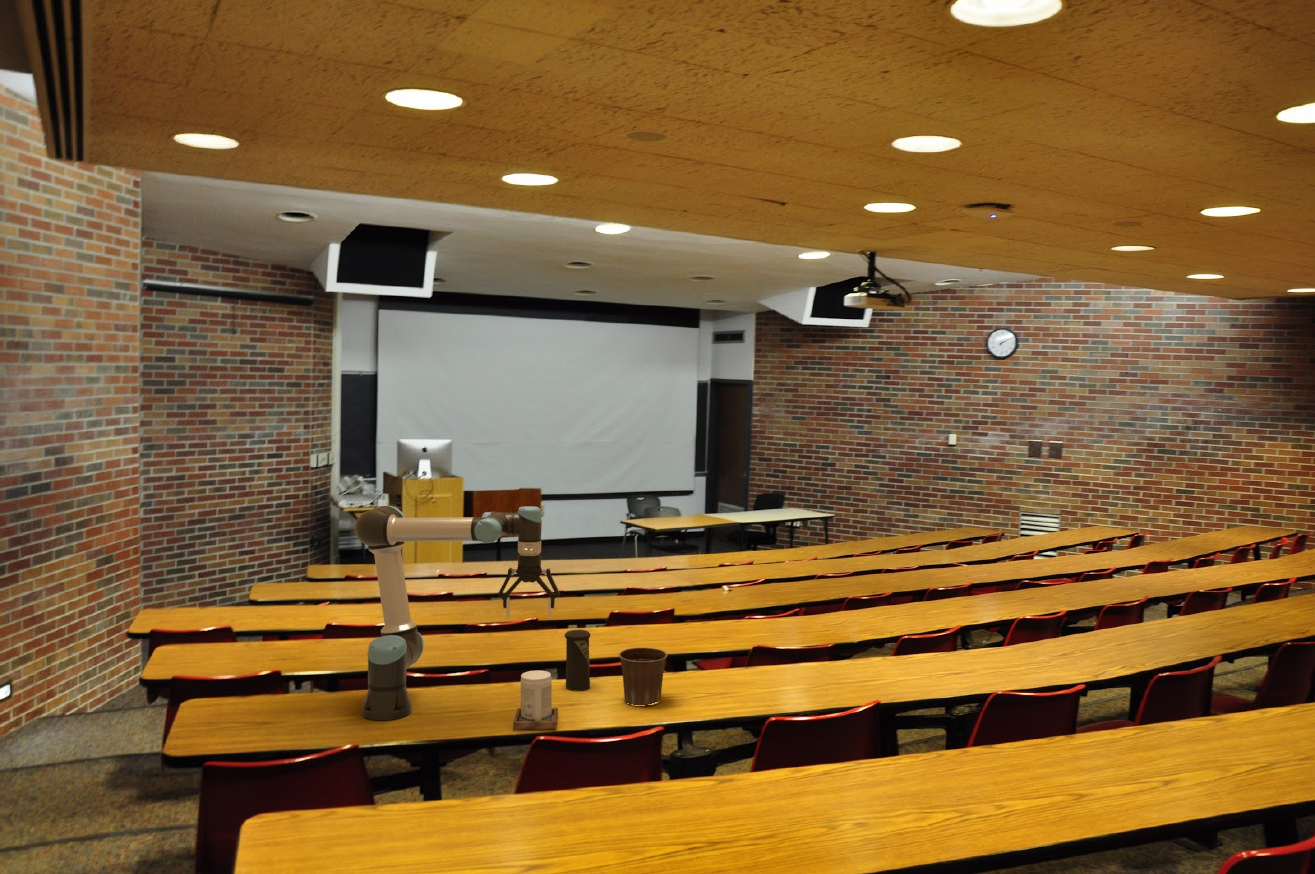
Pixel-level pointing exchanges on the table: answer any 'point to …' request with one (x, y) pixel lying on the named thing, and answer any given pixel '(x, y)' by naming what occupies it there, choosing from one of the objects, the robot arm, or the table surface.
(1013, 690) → the table surface
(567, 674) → the container
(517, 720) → the holder tray
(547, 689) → the supplement tub
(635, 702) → the plant pot
